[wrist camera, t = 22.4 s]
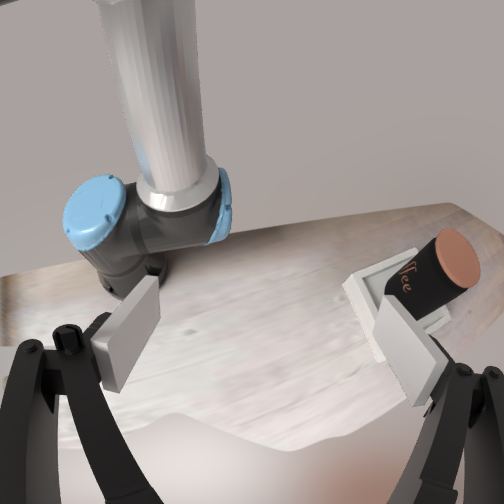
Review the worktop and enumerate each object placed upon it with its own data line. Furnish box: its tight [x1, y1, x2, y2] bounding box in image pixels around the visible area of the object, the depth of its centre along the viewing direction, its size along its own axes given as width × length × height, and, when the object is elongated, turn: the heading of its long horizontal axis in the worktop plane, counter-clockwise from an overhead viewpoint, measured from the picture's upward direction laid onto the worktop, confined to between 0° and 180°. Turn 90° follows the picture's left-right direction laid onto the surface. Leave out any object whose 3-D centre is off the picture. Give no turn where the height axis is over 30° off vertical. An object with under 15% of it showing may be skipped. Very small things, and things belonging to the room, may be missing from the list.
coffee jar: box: [384, 228, 480, 321], centre depth 44 cm, size 11×11×18 cm
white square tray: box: [342, 247, 452, 363], centre depth 53 cm, size 18×18×6 cm
